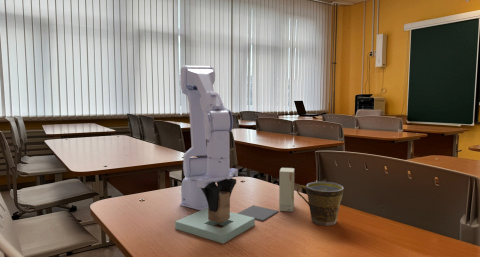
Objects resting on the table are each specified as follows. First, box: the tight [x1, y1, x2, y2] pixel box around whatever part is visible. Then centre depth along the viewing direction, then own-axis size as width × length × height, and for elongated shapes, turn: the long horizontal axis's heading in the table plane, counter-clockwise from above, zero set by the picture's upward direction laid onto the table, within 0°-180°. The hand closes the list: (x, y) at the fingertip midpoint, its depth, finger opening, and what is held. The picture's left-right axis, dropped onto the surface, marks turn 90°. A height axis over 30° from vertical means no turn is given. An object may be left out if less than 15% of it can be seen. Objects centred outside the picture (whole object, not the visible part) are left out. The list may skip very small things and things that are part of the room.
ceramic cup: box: [296, 181, 345, 227], centre depth 96 cm, size 13×10×10 cm
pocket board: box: [174, 208, 256, 244], centre depth 92 cm, size 16×14×2 cm
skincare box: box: [278, 167, 295, 212], centre depth 106 cm, size 6×4×12 cm
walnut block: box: [208, 191, 231, 223], centre depth 89 cm, size 4×4×7 cm
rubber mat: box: [236, 205, 279, 222], centre depth 102 cm, size 9×9×1 cm
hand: (218, 208), depth 89 cm, fingers closed on walnut block, 4 cm apart
